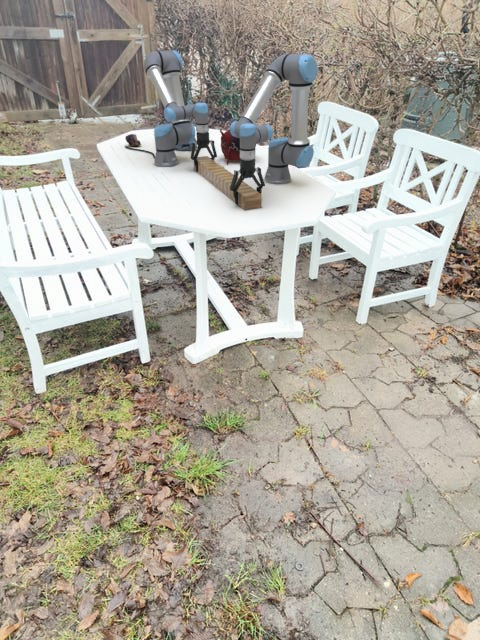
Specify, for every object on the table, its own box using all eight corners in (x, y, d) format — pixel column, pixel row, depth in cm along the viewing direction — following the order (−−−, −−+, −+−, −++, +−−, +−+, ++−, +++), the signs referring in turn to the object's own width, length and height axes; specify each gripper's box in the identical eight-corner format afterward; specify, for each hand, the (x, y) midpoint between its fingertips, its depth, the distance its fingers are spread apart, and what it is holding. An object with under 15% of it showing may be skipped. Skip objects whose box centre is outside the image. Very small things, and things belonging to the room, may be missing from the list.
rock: (137, 145, 340) (124, 146, 336) (136, 133, 337) (122, 134, 332) (142, 146, 331) (129, 147, 327) (140, 133, 327) (127, 134, 323)
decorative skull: (217, 132, 305) (217, 129, 281) (251, 125, 304) (254, 121, 280) (224, 165, 312) (224, 164, 288) (257, 157, 311) (260, 156, 287)
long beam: (194, 168, 285) (193, 157, 281) (207, 166, 288) (207, 155, 284) (244, 210, 224) (244, 196, 221) (261, 207, 227) (261, 194, 224)
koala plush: (197, 151, 320) (195, 121, 309) (172, 151, 319) (169, 122, 308) (197, 145, 334) (195, 116, 323) (173, 145, 333) (170, 117, 322)
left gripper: (187, 134, 262) (189, 173, 274) (221, 131, 269) (223, 169, 281) (183, 132, 267) (185, 170, 280) (217, 128, 274) (218, 166, 287)
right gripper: (227, 163, 212) (228, 207, 224) (272, 157, 219) (271, 201, 232) (222, 159, 217) (223, 203, 230) (266, 154, 225) (265, 196, 237)
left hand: (204, 169), depth 281 cm, fingers closed on long beam, 9 cm apart
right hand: (247, 202), depth 231 cm, fingers open, 11 cm apart
